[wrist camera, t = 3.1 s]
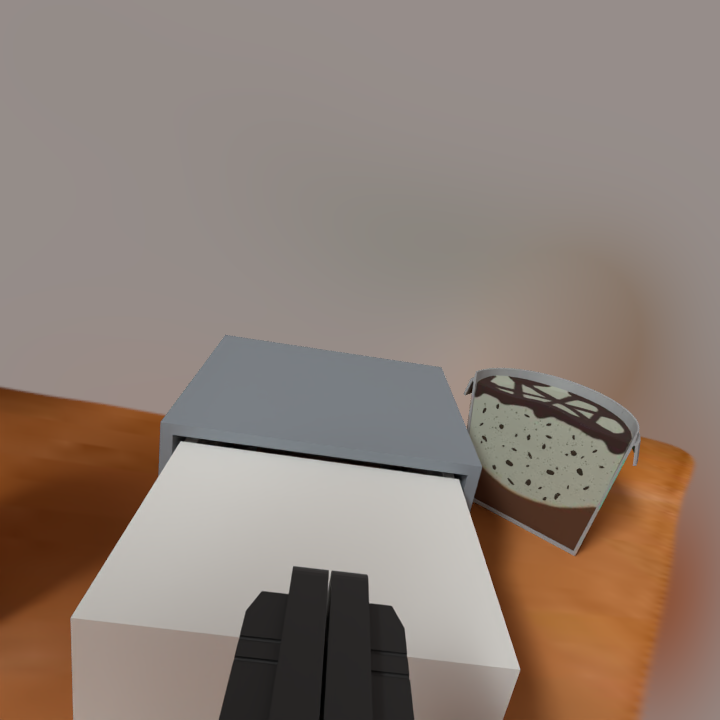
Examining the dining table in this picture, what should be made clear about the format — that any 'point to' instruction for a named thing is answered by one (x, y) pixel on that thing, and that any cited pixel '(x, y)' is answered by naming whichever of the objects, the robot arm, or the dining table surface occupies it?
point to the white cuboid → (285, 580)
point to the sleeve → (324, 408)
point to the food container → (546, 450)
